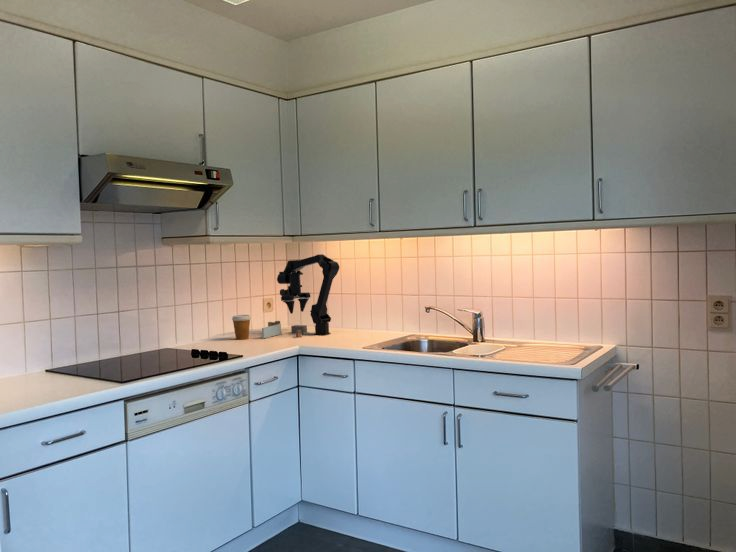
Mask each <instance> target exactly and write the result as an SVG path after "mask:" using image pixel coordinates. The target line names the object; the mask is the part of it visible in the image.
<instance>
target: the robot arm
mask: <svg viewBox="0 0 736 552" xmlns="http://www.w3.org/2000/svg"><path fill="white" fill-rule="evenodd" d="M314 264H318V266H319V267H320V268H321V269H322V271H321V272H322V276H323V278H322V282H321V287H320V290H319V293H318V298H317V301H316V303H315V304H312V305H311V309H310V311H309V312H310V317H311V320H312V322H313V324H314V329H315V330H314V333H313V334H314V336H315V335H316V336H327V335H330V334H331V332H330V324H329V323H330V322H331V321H332V317H331V316H330V315H329V313H328V307H327V302H328V298H329V295H330V292H331V287H332V284H333V281H334V278H335V277H336V276H337V274H338V273H339V270H340V265H339V263H338V262H337V261H336V260H335V261H334V259H331V258H330V257H327V256H326V255H324V254H322V253H321V254H316V255H313V256H310V257H306V258H303V259H296V260H295V259H294V260H293V259H292V260H288V261H287V263H286V266H285V267H284V270H282V271H279V272H278V273H279V274H277V276H276V281H277V283H278V284H280V285H288V286H287V289H284V288H281V289H280V290H279V295H280V301H281V302H282V303H285V305H286V307H287V309H288V310H289V314H293V312H294V310H295V309H294V307H295V299H297V301H298V302H299V307H300V311H301V313H302V312H304V310H305V307H306V305H307V303H308V301H309V299H310V298H311V293H310V292H309V291H308V292H302V289H301V288H302V287H303V285H302V284H301V275H302V276H303V275H304V273H303V272H301V270H303V269H304V268H305V267H307V266H312V265H314Z"/></svg>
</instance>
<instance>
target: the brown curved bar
mask: <svg viewBox="0 0 736 552" xmlns="http://www.w3.org/2000/svg"><path fill="white" fill-rule="evenodd" d="M277 324H281V321H280V320H276V321H275V320H274V321H267V327H269V326H273V325H277ZM302 336H303V335H302V334H301V330H296V333H295V337H296V338H302Z"/></svg>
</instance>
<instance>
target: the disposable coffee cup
mask: <svg viewBox="0 0 736 552" xmlns="http://www.w3.org/2000/svg"><path fill="white" fill-rule="evenodd" d="M231 320H232V324H233V328H234V329H233V330H234V334H235V339H236V341H237V340H238V341H242V340H243V341H244V340H248V339H249V335H250V323H251V315H250V314H237V315H232V318H231Z"/></svg>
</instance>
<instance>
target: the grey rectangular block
mask: <svg viewBox="0 0 736 552" xmlns="http://www.w3.org/2000/svg"><path fill="white" fill-rule="evenodd" d="M307 327H308V325H307V324H306V325H302V324H301V325H299V324H295V325H292V326H291V328H290V329H291V334H296V330H301V334H306V333H307V334H308V328H307Z"/></svg>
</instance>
